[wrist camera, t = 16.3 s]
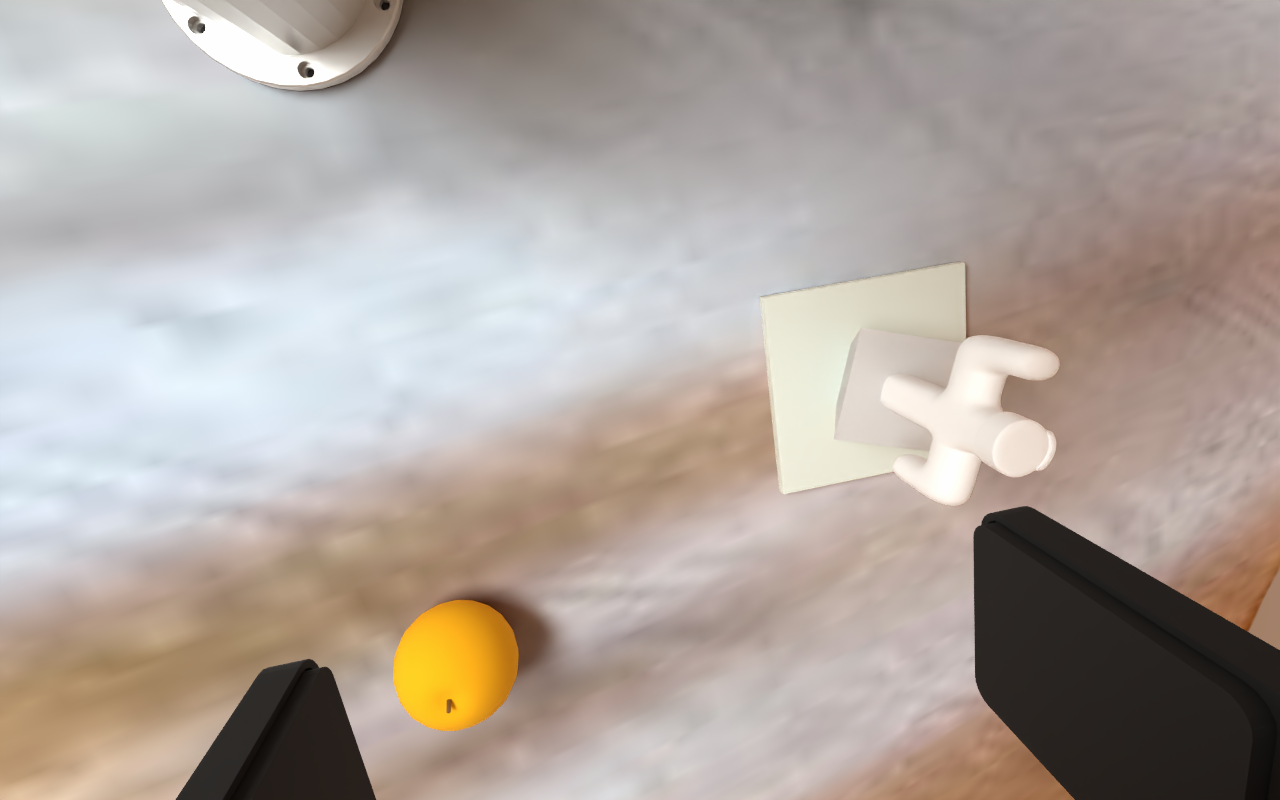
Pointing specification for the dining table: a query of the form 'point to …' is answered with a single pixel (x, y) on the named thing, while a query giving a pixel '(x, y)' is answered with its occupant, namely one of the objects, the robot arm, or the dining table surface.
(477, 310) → the dining table surface
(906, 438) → the figurine
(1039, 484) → the dining table surface
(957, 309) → the cream board
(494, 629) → the apple
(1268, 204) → the dining table surface
